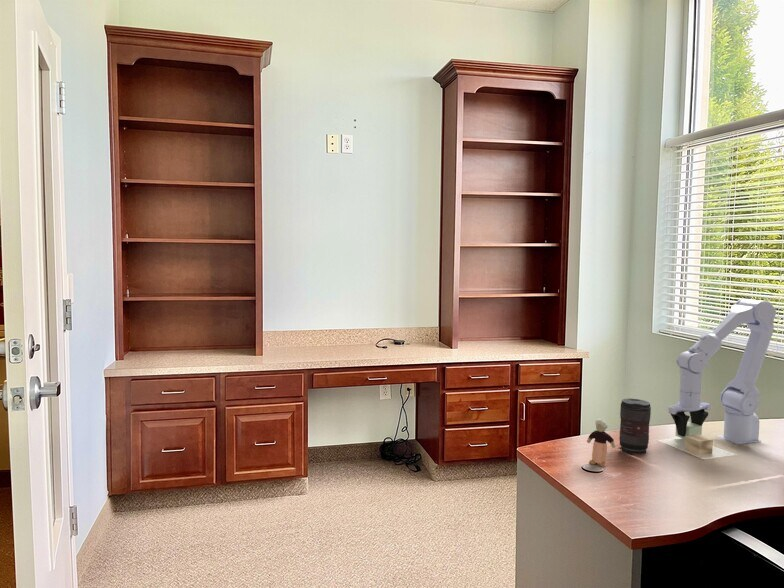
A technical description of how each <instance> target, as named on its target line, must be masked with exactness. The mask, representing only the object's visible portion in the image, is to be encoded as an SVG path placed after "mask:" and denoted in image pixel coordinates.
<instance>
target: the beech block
mask: <svg viewBox="0 0 784 588" xmlns="http://www.w3.org/2000/svg"><path fill="white" fill-rule="evenodd" d="M713 446H714V439H712V438H709V437H706V436H704V435H699V434H698V435H690V436H685V450H687V451H690V452H692V453H695V454H697V455H704V454H711V453H712V450H713Z"/></svg>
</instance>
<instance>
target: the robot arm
mask: <svg viewBox="0 0 784 588" xmlns="http://www.w3.org/2000/svg"><path fill="white" fill-rule="evenodd" d="M776 314H777V309H775V307H774V305H773V304H772V303H771V302H770V301H767V300H758V299H757V300H756V299H749V298H740V299H738V300H737V301H736V302H735V304H733V305H732V306H731V307H730V311H729V313H728V314H727V315H726V316H725V317H724V318H723V320H722V321H721V322H720V323H719V324H718V325H717V326H716V328H715V329H714V330H713V331H712V332H711V333H704V334H701V335H700V336H699V340H698V341H697V342H695V343H694V344H693V345H692V346H690V347H689V349H688V350H686V351H683V352H681V353H680V354H679V356H678V359H676V364H677V367H678V368H679V373H680V379H679V380H680V381H679V401H678V402H677V403H676V404H673V405H669V406H668V414H670V416H671V417H672V419H673V421H674V424H675V429H676V428H677V432H678V435H680V436H683V437H684V436H685V434H686V426H687V422H688V421H689V419H690V422H691V423H694V424H697V425H700V426H703V424H704V422H705V420H706V419H707V418H708V417H709V412H708V411H710V410H711V403H709V402H705V401H704V402H702V401H701V397H702V372H703V371H705V370H706V368H707V365H708V362H709V361H710V358H712V357H713V356H714V354H716V353H717V351H719V350H720V349H721V348H722V341H723V340H725V339H726V337H728V336H729V335H730V334H731V333H733V331H735V330H736V329H737V328H738V327H739V326H741V325H744V324H745V325H746V326H747V327H748V329H749V330H750V333H749V336H748V339H747V342H746V345H745V348H744V350H743V354H742V357H741V360H740V363H739V366H738V368H737V372H736V374H735V378H734V379H733V380H730V381H728V382H727V384H726V385H725V388H724V389H723V390H722V391H721V393H720V394H719V395H720V396H719V401H720V404H721V405H722V406H723V410H724V421H723V422H724V425H723V435H722V434H720V435H716V437H718V438H720V439H724V440H726V441H729V442H732V443H735V444H737V445H743V444H744V445H745V444H751V443H756V442H757V443H758V442H759V443H762V440H760V439H759V436H760V418H759V416H758V414H756V412H757V411H758V409H759V407H760V406H759V405H760V402H759V400H760V399H759V398H760V395H761V394H760V391H759V390H758V388H757V387H756V382H757V381H758V377H759V374H760V371H761V369H762V366H763V363H764V360H765V357H766V354H767V351H768V348H769V345H770V342H771V339H772V336H773V334H774V331H775V330H774V322H775V318H776ZM686 413H689V415H687V414H686Z"/></svg>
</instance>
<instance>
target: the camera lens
mask: <svg viewBox="0 0 784 588" xmlns="http://www.w3.org/2000/svg"><path fill="white" fill-rule="evenodd" d="M619 410H620V412H619V415H620V416H619V418H620V426H619V446H621V447H620V448H621V449H620V450H621V452H622V453H624V454H627V455H629V454H630V456H634V455H641V454H646V452H647V449H648V448H649V440H650V421H651V414H652V413H651V412H652V407H651V402H649V401H647V400H644V399H638V398H624V399H623V398H622V399H621V402H620V409H619Z"/></svg>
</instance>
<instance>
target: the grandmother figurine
mask: <svg viewBox="0 0 784 588" xmlns="http://www.w3.org/2000/svg"><path fill="white" fill-rule="evenodd" d="M608 428H609V425H608V423H607V421H606V420H605V419H604V418H597V419H596V420H595V429H596V430H593V431H592V432H591V433H590V434H589V435H588V437H587V440H586V443H588V444H590V443H591V442H592V441H593V439H594V441H593V444H592V453H591V459H590V460H589V462H588V463H589V464H591V465H597V464H598V466H599V465H600V466H599V467H606V466H607V457H608V456H607V455H608V446H607V445H608V443H609V444H610V446H611V448H613V449H615V448H616V446H617V445H616V444H615V439H614V438H613V437H612V436H611V435H610V434H608V433H607V432H606V430H607V429H608ZM607 442H608V443H607ZM596 463H597V464H596Z"/></svg>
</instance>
